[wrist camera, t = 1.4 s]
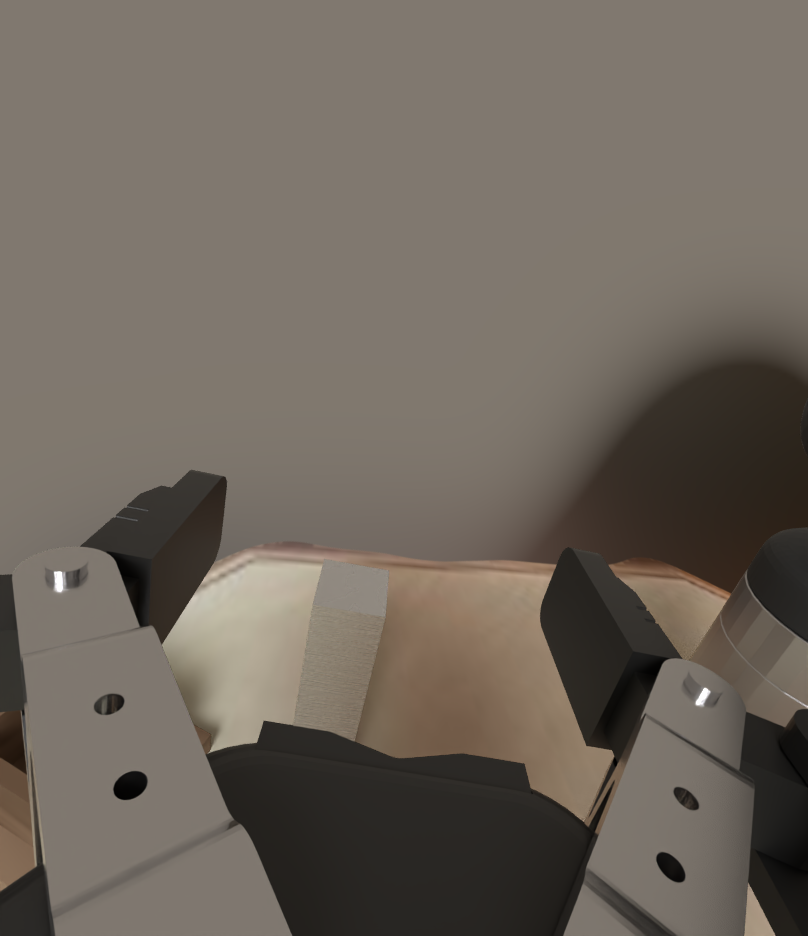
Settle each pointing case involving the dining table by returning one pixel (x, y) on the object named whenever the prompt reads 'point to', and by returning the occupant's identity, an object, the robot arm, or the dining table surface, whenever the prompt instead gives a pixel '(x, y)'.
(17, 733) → the wooden socket base
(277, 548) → the dining table surface
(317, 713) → the grey rectangular block
